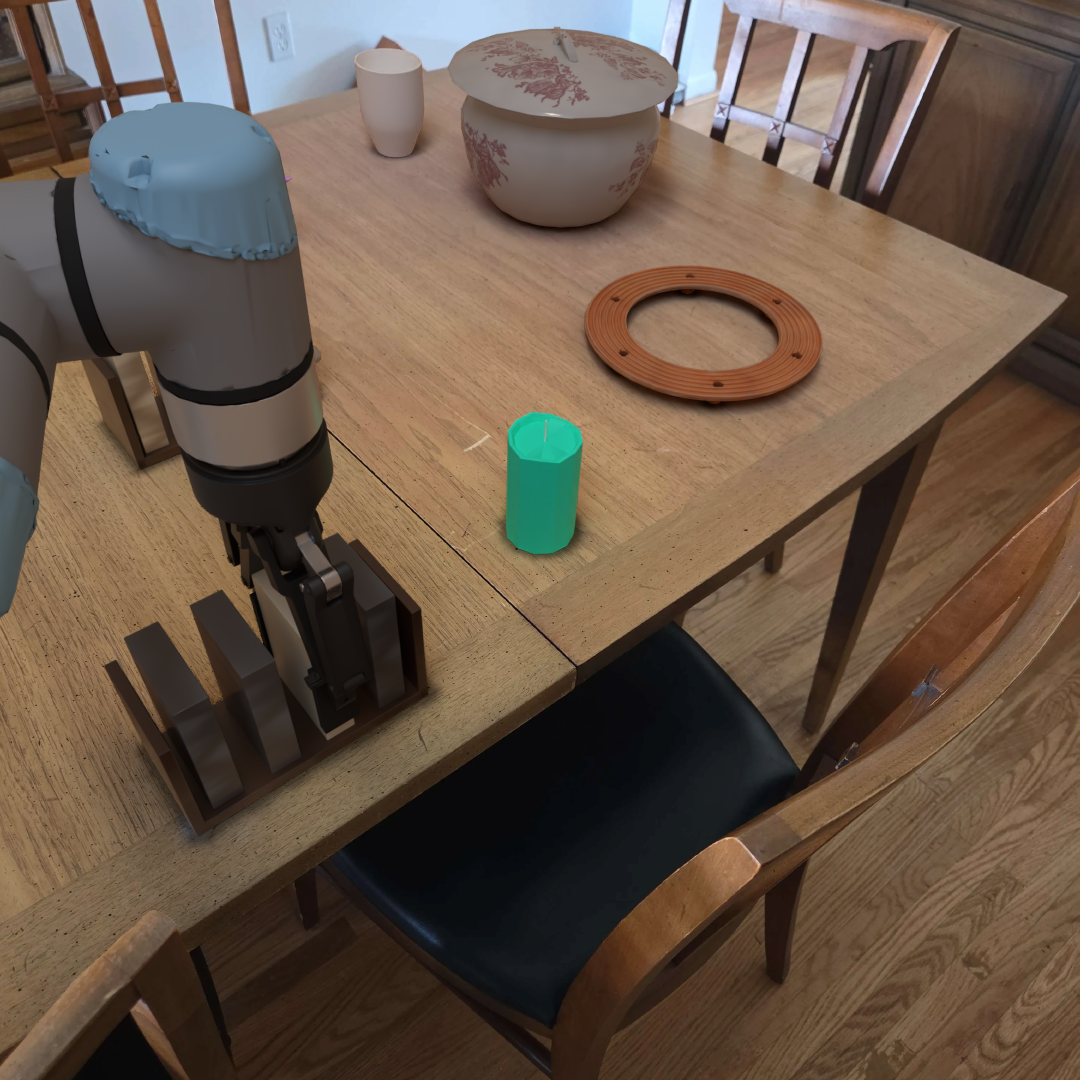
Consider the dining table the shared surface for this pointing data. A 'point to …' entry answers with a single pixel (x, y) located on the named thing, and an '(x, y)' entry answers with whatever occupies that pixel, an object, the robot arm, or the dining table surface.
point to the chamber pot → (560, 120)
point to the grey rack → (262, 696)
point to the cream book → (288, 647)
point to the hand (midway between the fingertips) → (312, 682)
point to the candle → (542, 482)
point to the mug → (391, 98)
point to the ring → (757, 380)
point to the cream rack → (132, 407)
